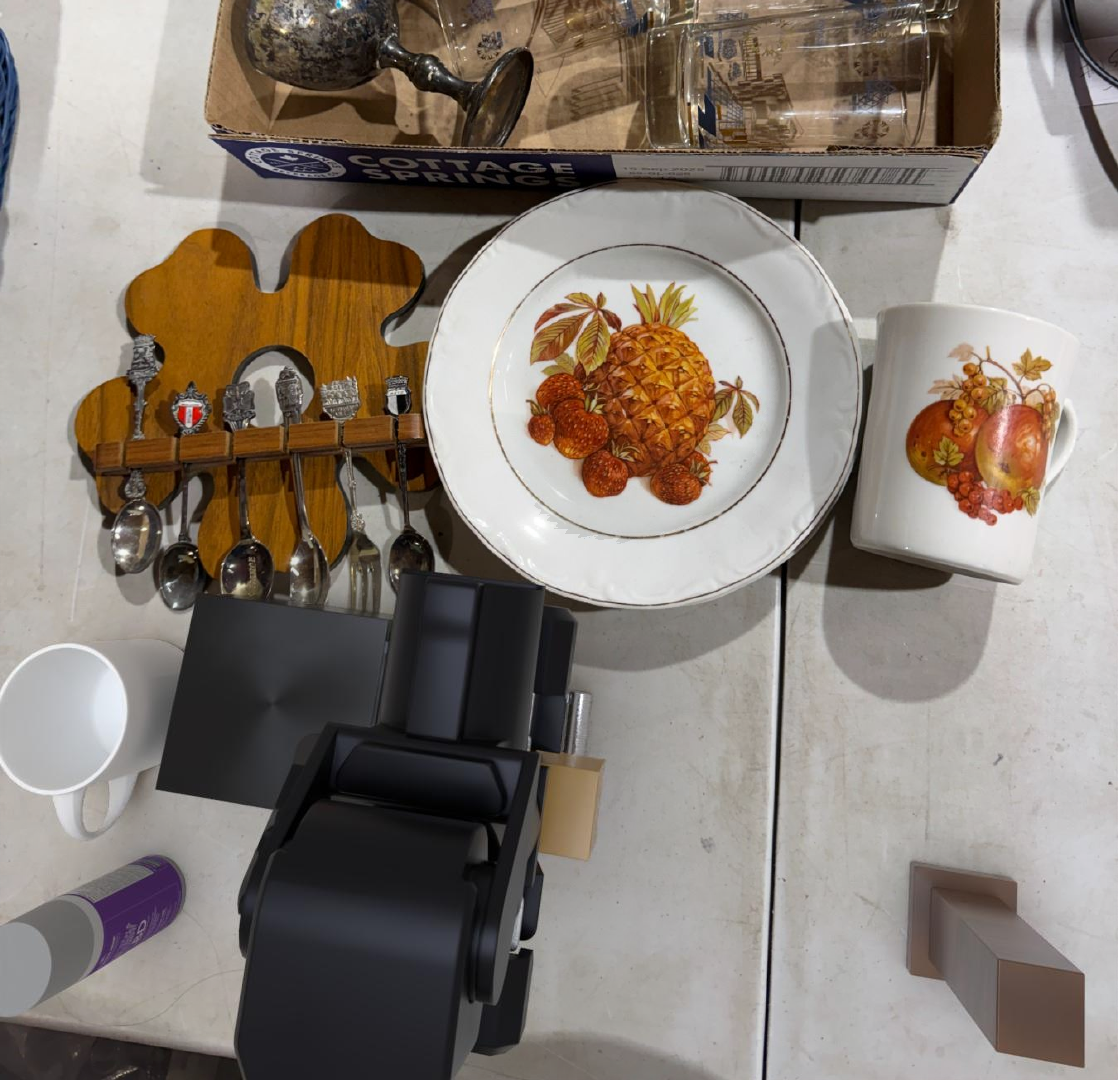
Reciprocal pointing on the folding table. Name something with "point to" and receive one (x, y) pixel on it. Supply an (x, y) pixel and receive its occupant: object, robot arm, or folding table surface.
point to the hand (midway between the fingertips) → (512, 778)
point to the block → (571, 804)
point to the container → (85, 930)
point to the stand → (995, 963)
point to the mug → (87, 721)
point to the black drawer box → (266, 691)
